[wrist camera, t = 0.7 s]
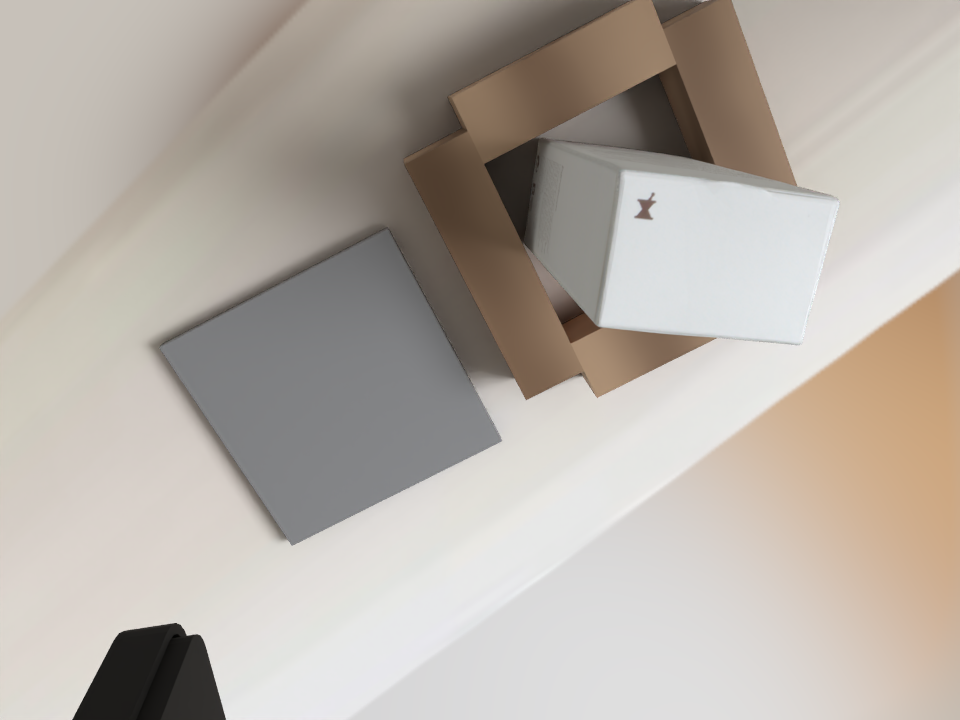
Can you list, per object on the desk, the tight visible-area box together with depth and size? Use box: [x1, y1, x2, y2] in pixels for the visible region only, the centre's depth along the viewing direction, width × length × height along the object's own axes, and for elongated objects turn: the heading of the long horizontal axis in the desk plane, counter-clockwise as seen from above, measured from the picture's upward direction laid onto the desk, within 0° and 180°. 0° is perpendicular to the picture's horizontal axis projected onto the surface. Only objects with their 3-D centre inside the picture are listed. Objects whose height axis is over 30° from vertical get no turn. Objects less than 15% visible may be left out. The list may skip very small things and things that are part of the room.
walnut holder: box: [404, 0, 797, 400], centre depth 32 cm, size 12×12×2 cm
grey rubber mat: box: [159, 227, 502, 546], centre depth 34 cm, size 10×10×1 cm
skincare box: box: [524, 138, 840, 345], centre depth 27 cm, size 6×4×12 cm
